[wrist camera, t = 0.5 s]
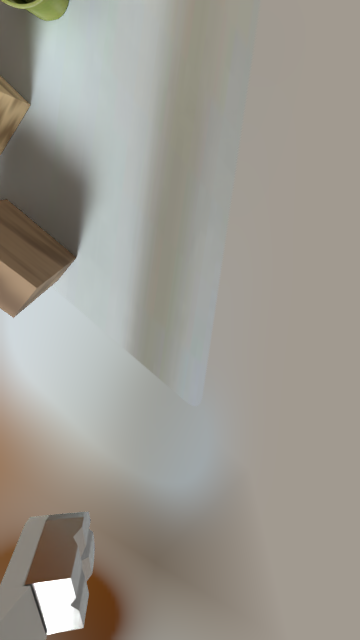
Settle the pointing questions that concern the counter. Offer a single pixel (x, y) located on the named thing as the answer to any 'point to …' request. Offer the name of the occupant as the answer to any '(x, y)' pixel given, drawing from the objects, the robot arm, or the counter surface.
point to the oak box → (10, 112)
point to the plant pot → (41, 7)
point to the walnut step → (26, 259)
